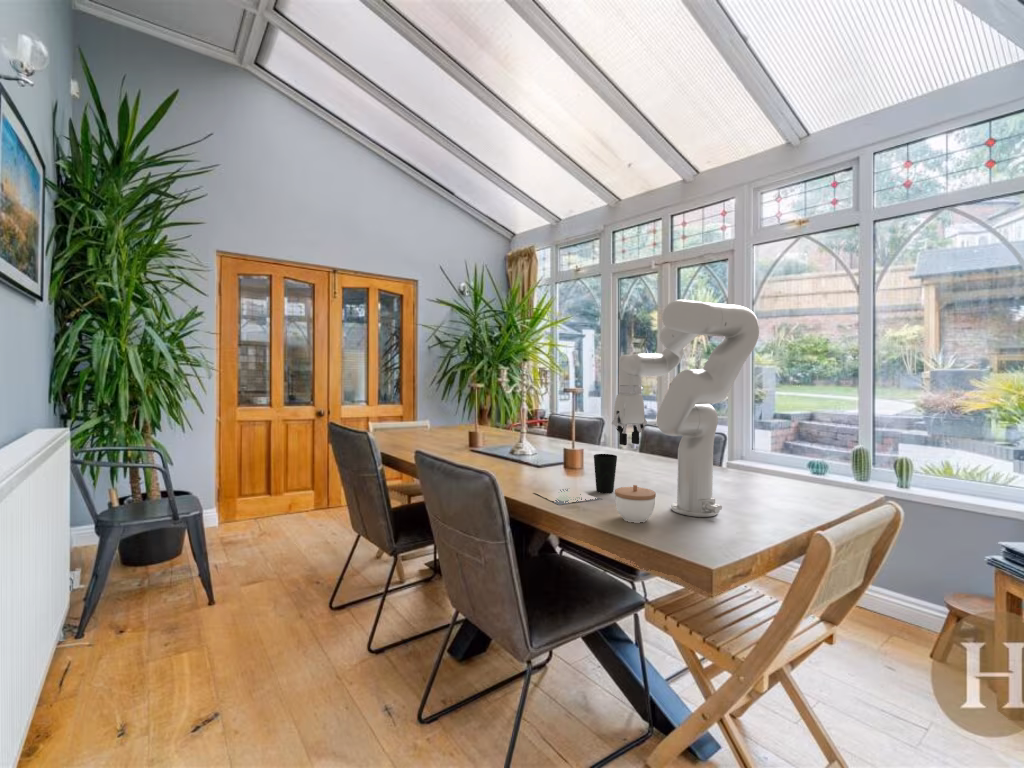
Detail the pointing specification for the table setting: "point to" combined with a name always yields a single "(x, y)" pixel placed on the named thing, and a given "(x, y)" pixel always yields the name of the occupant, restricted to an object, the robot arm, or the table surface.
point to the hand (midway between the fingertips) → (629, 443)
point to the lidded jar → (635, 503)
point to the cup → (605, 472)
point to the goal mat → (562, 499)
